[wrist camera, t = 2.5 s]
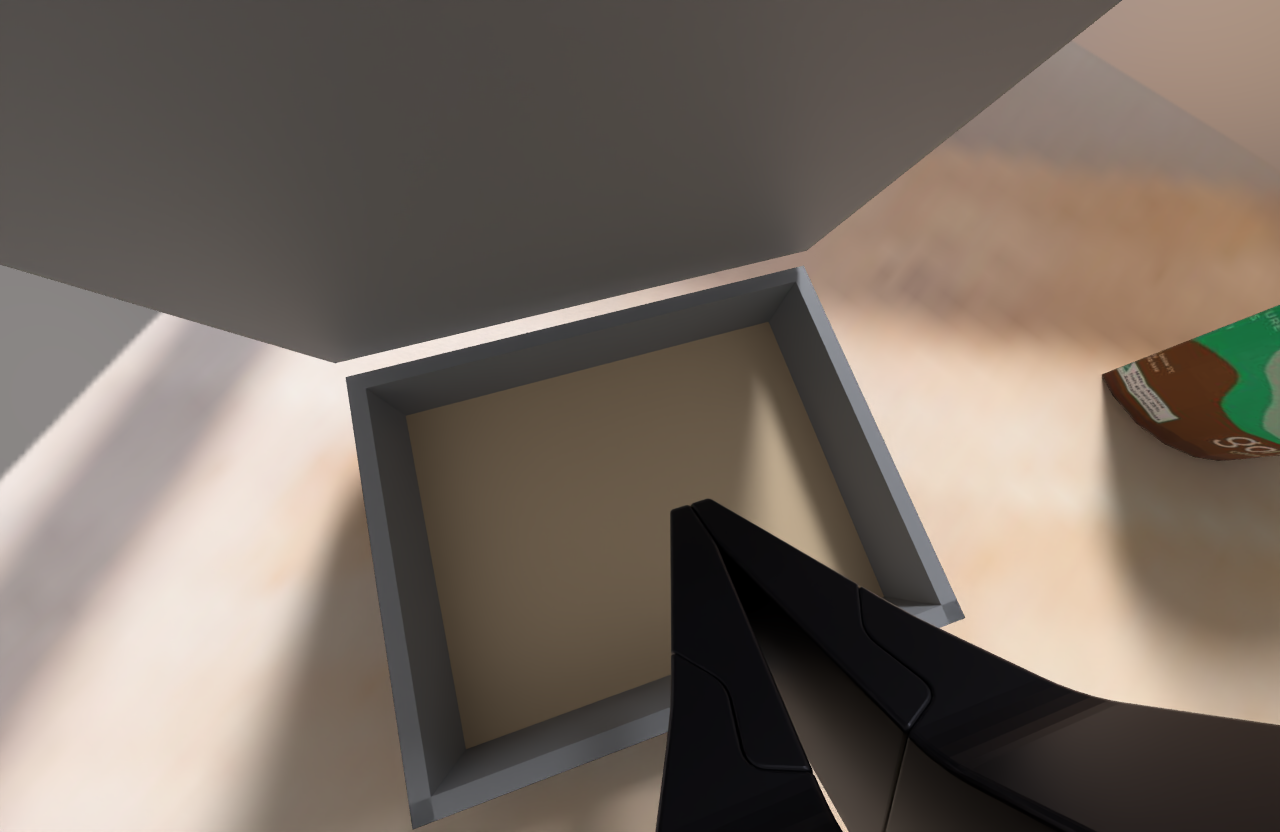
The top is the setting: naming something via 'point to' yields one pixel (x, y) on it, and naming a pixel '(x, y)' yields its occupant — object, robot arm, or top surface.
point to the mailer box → (603, 517)
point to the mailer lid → (466, 146)
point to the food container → (1210, 391)
